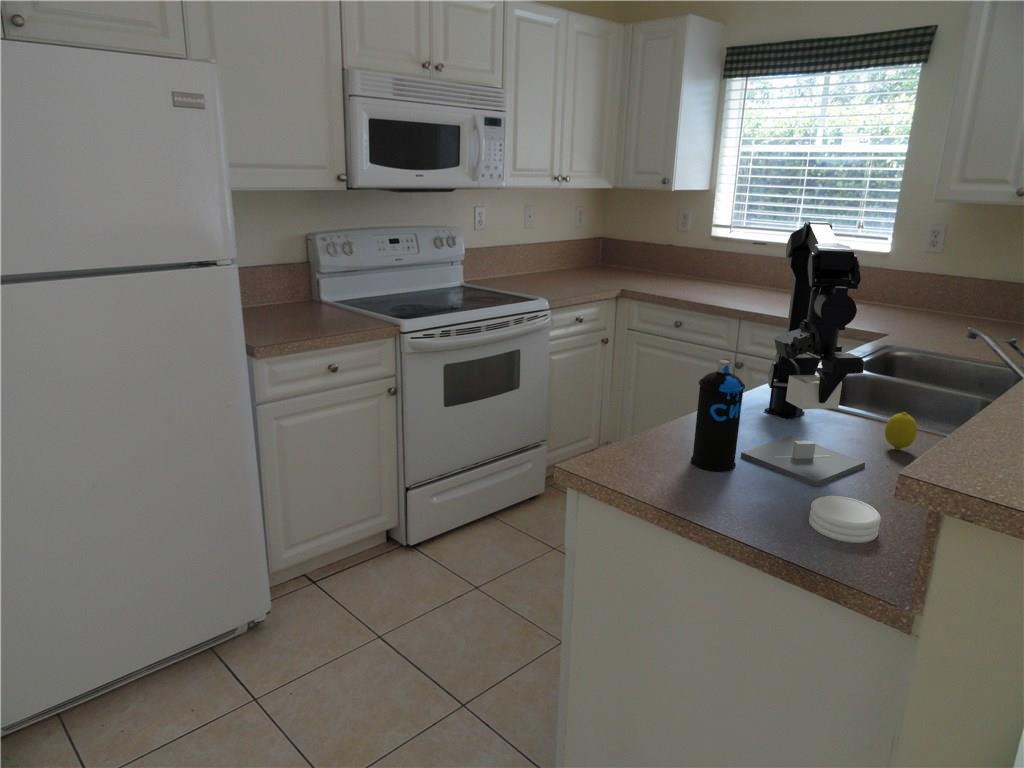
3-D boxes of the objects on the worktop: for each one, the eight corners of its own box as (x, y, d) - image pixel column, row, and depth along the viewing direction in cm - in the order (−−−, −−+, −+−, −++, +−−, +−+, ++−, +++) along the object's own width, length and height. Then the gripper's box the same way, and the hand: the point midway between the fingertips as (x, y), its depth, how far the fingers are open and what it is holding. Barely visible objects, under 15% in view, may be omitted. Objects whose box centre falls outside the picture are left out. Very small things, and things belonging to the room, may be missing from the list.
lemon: (903, 444, 149) (910, 407, 147) (918, 455, 144) (926, 417, 141) (876, 444, 149) (883, 407, 146) (891, 455, 143) (898, 416, 141)
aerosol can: (681, 458, 140) (691, 357, 134) (716, 452, 143) (727, 353, 137) (709, 474, 132) (720, 369, 126) (744, 468, 136) (757, 365, 130)
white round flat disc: (843, 549, 108) (847, 528, 107) (794, 520, 117) (797, 500, 116) (892, 537, 112) (896, 517, 111) (840, 509, 121) (844, 490, 120)
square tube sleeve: (785, 400, 140) (789, 374, 138) (821, 399, 141) (824, 373, 140) (802, 409, 135) (805, 382, 133) (838, 408, 136) (842, 381, 135)
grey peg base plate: (740, 457, 141) (743, 437, 140) (790, 440, 150) (792, 422, 149) (815, 486, 128) (819, 466, 127) (864, 466, 137) (868, 447, 136)
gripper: (758, 308, 141) (748, 385, 145) (814, 327, 123) (802, 415, 127) (810, 307, 143) (799, 384, 147) (873, 326, 125) (858, 413, 129)
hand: (812, 398), depth 138 cm, fingers closed on square tube sleeve, 5 cm apart
